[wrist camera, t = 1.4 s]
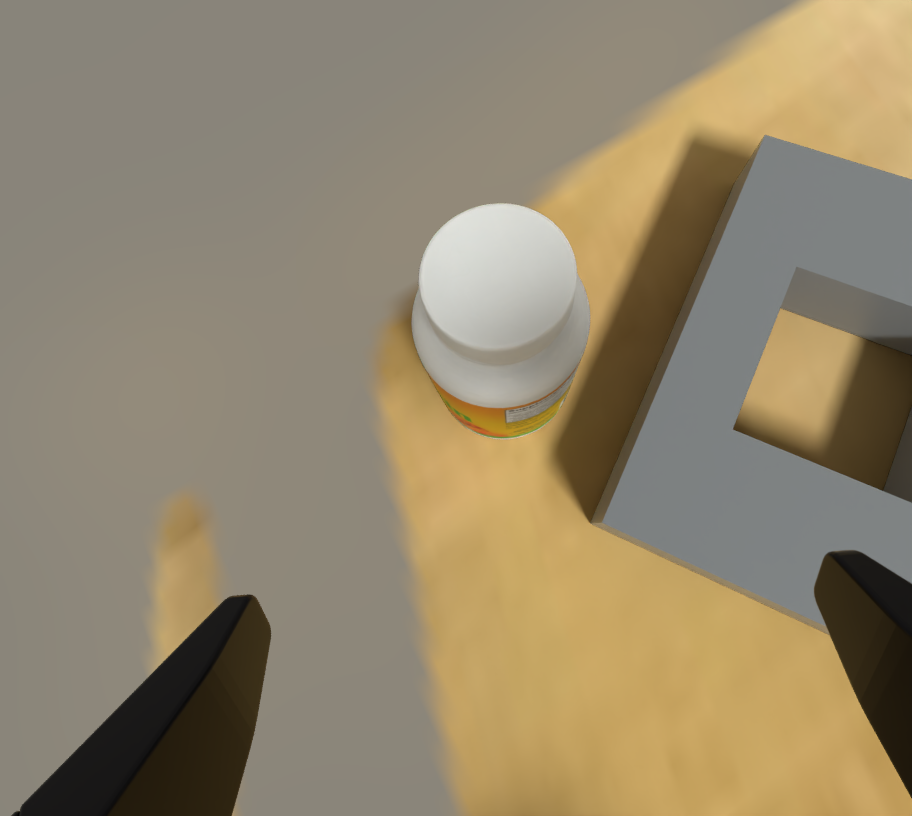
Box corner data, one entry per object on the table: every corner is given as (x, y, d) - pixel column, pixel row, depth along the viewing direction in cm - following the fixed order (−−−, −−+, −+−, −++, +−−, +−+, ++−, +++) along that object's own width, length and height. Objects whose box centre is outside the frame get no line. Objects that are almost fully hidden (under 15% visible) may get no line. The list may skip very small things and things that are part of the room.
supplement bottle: (418, 356, 24) (353, 241, 14) (526, 296, 24) (534, 140, 14) (479, 465, 22) (452, 418, 13) (594, 400, 22) (651, 307, 13)
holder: (1040, 733, 18) (1140, 772, 15) (590, 523, 21) (601, 522, 18) (1153, 319, 21) (1258, 284, 18) (734, 183, 24) (765, 134, 21)
